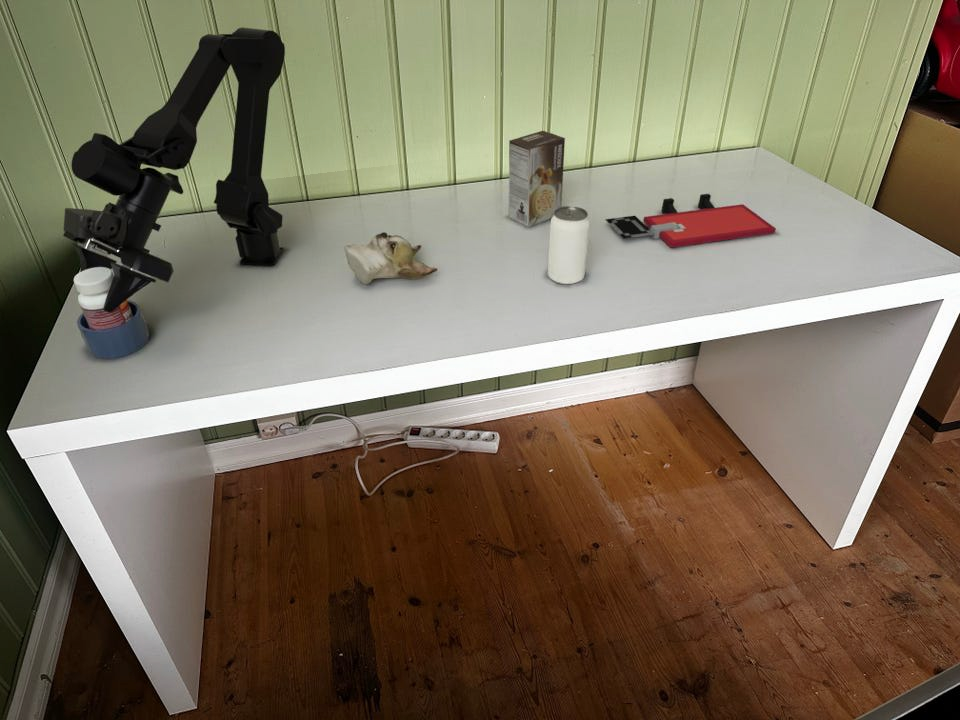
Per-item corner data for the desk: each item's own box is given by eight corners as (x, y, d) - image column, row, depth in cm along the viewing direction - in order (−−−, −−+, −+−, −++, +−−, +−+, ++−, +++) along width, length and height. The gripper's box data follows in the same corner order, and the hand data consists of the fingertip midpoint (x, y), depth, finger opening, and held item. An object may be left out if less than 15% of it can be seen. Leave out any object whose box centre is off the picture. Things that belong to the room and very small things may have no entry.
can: (560, 289, 117) (565, 224, 110) (540, 272, 122) (543, 209, 115) (591, 280, 120) (598, 216, 112) (571, 264, 124) (576, 202, 117)
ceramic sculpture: (336, 224, 118) (420, 215, 123) (340, 268, 123) (420, 258, 128) (350, 252, 110) (439, 241, 115) (353, 298, 115) (438, 285, 120)
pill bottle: (144, 342, 105) (120, 278, 98) (100, 356, 102) (73, 290, 95) (135, 323, 109) (111, 261, 102) (93, 336, 106) (66, 272, 99)
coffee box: (540, 205, 145) (543, 129, 135) (561, 215, 141) (566, 137, 131) (507, 217, 140) (508, 139, 130) (528, 228, 136) (531, 148, 126)
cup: (159, 327, 109) (150, 300, 106) (133, 360, 102) (122, 332, 99) (107, 325, 110) (96, 298, 107) (77, 357, 103) (65, 330, 100)
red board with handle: (600, 219, 138) (633, 254, 127) (602, 206, 136) (636, 241, 125) (731, 203, 145) (774, 235, 133) (734, 190, 143) (777, 221, 132)
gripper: (52, 169, 98) (6, 268, 98) (128, 199, 90) (77, 308, 89) (120, 201, 108) (78, 292, 107) (194, 231, 99) (149, 330, 99)
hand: (94, 304), depth 100 cm, fingers closed on pill bottle, 6 cm apart
